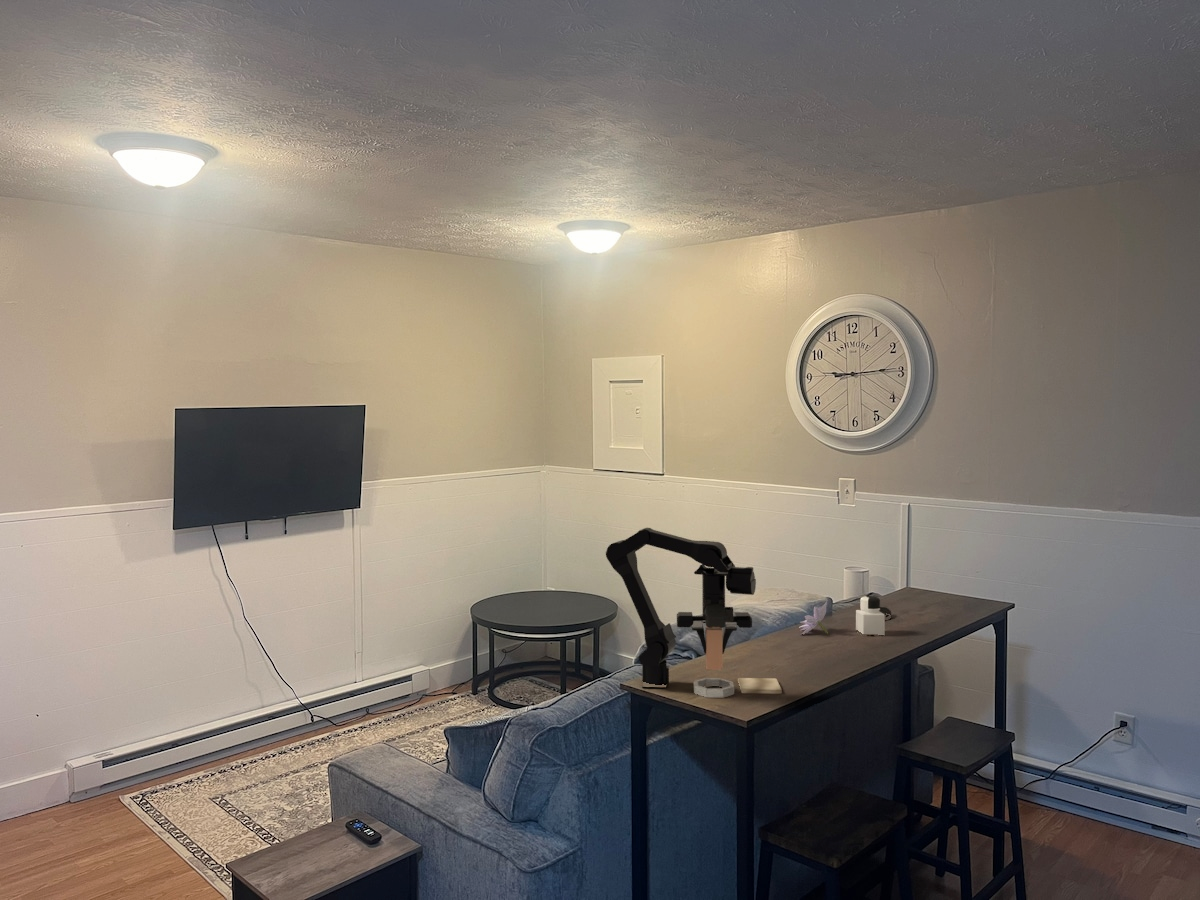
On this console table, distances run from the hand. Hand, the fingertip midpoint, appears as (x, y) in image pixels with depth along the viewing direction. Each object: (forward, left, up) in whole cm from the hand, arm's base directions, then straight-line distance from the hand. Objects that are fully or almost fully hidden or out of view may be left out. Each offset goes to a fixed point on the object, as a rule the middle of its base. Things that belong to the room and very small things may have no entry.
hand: (713, 653), depth 225 cm
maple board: (+12, +4, -10) cm, 16 cm away
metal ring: (0, 0, -10) cm, 10 cm away
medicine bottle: (+55, +65, -10) cm, 86 cm away
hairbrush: (+60, +84, -10) cm, 104 cm away
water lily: (+37, +66, -10) cm, 76 cm away
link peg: (0, 0, -4) cm, 4 cm away
